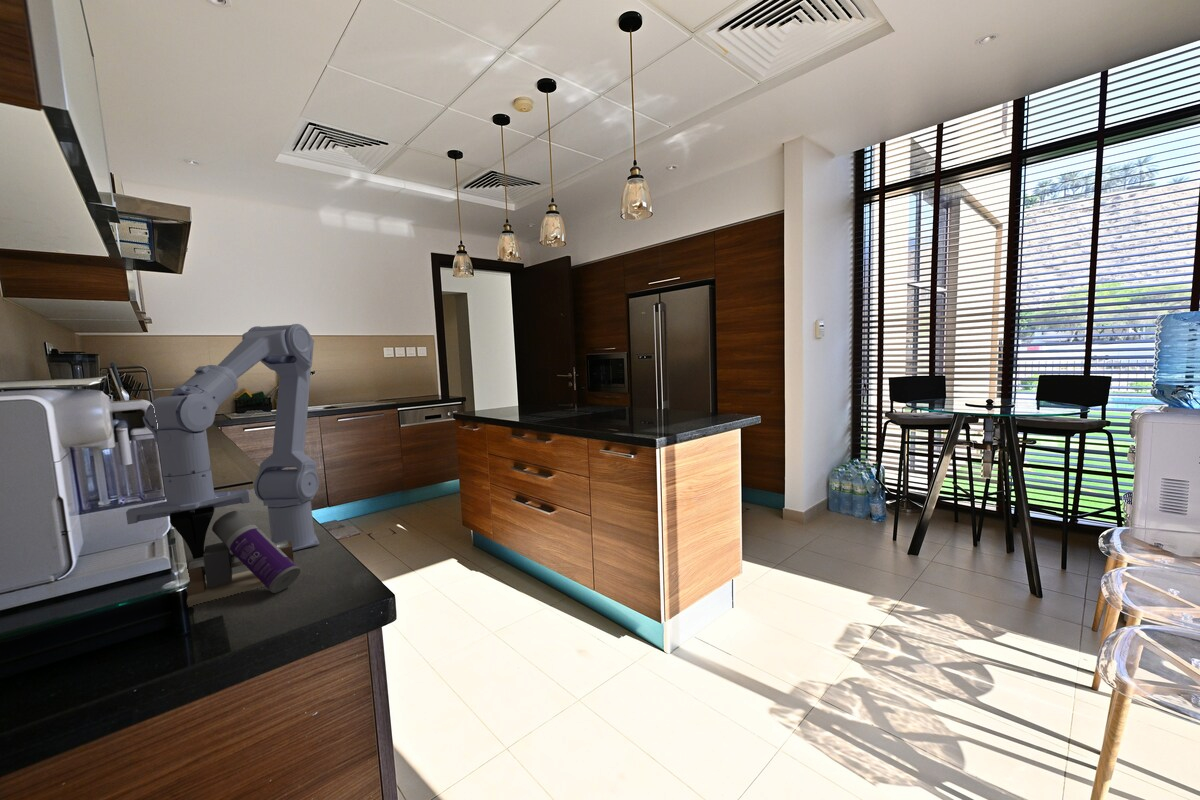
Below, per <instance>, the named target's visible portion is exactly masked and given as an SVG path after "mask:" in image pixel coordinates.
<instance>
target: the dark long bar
mask: <svg viewBox="0 0 1200 800" xmlns="http://www.w3.org/2000/svg"><path fill="white" fill-rule="evenodd" d="M274 544H275V545H276V546H277V547H278V548H283V547H287V546H288V540H286V541H282V542H278V543H274ZM229 561H230V568H232V569H234V568H238V567H242V566H245V565H244V564H243V563H242V562H241V561H240V560H239V559H238V558H237V557H236V556H235V555H234V554H233V553H232V552H230V553H229ZM188 565H189V569H193V568H197V567H202V573H203V575H205V576H206V573H205V565H204V558H203V559H199V560H194V561H190V562H189V563H188Z"/></svg>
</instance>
